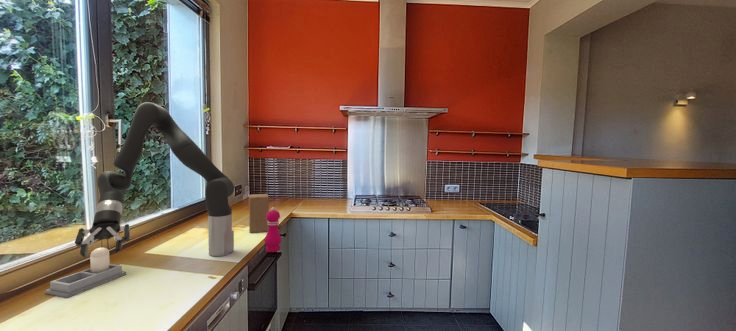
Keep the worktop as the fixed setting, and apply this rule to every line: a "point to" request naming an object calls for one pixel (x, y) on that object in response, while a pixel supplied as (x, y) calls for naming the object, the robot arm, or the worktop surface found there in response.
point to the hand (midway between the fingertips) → (100, 253)
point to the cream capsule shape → (99, 260)
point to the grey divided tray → (83, 281)
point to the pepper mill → (273, 231)
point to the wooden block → (258, 213)
